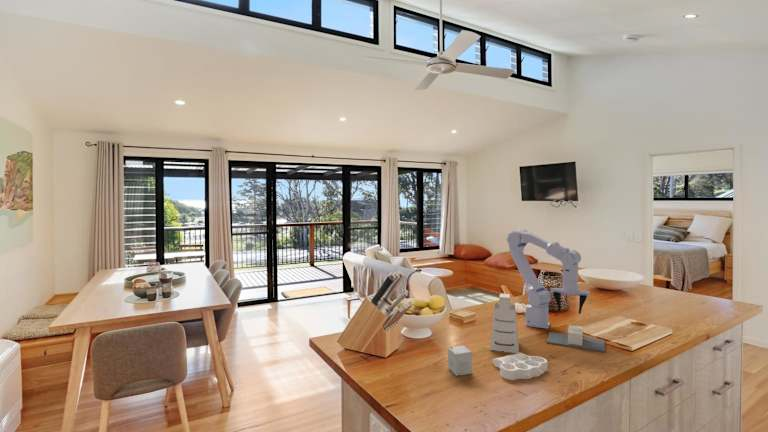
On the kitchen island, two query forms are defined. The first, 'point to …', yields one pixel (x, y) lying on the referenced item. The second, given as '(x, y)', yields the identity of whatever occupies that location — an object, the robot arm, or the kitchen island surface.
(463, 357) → the skincare box
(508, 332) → the grater
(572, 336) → the block
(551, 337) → the mat
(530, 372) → the white scalloped muffin tray
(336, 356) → the kitchen island surface
